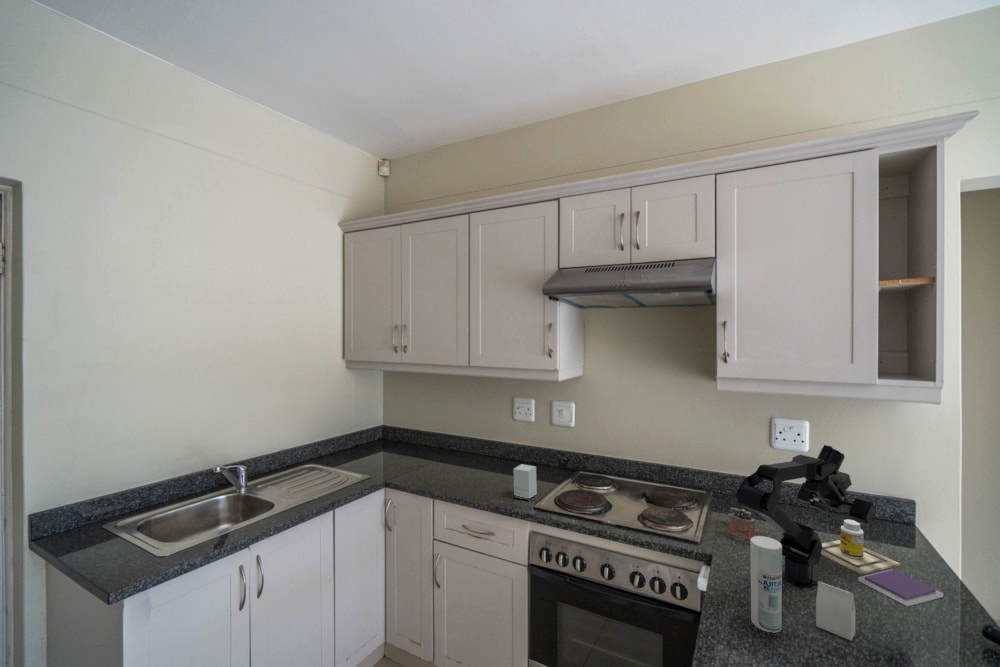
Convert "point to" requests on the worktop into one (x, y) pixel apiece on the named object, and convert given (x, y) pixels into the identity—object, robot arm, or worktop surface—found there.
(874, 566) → the board
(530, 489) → the supplement box
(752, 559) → the spray can
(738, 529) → the lighter
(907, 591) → the ink pad
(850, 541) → the supplement bottle
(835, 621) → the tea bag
